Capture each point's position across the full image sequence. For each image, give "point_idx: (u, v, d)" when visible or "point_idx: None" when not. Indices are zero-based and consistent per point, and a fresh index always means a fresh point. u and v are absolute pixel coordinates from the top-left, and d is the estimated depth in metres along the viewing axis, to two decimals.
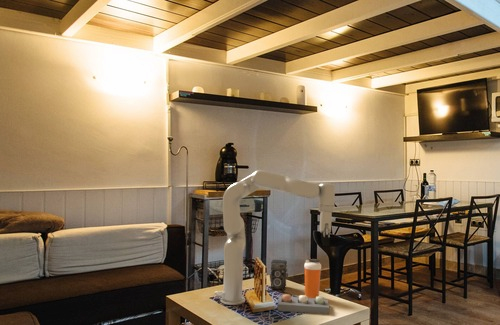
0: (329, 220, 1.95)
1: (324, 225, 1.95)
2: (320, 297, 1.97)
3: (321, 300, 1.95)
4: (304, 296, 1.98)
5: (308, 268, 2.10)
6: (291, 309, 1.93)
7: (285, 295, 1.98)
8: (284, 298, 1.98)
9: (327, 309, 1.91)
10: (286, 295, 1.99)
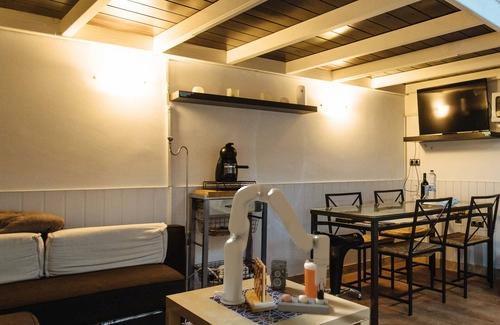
0: (324, 274, 1.92)
1: (319, 279, 1.92)
2: None
3: (321, 302, 1.95)
4: (304, 296, 1.98)
5: (308, 268, 2.10)
6: (291, 309, 1.93)
7: (285, 295, 1.98)
8: (284, 298, 1.98)
9: (327, 309, 1.91)
10: (286, 295, 1.99)
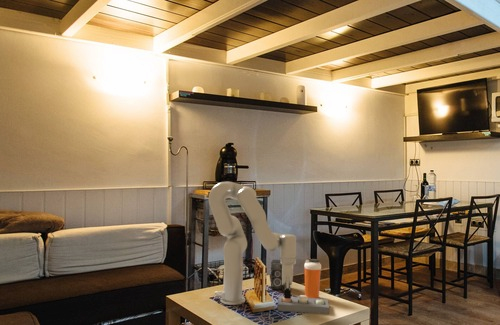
0: (290, 273, 1.94)
1: (285, 278, 1.94)
2: (320, 300, 1.97)
3: (321, 303, 1.95)
4: (304, 296, 1.98)
5: (308, 268, 2.10)
6: (291, 309, 1.93)
7: (284, 298, 1.98)
8: (284, 300, 1.98)
9: (327, 309, 1.91)
10: None
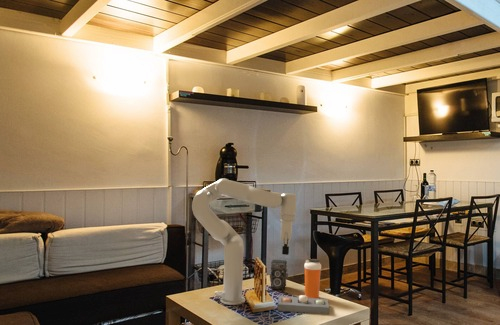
0: (289, 229, 2.01)
1: (284, 234, 2.01)
2: (320, 300, 1.97)
3: (321, 303, 1.95)
4: (304, 296, 1.98)
5: (308, 268, 2.10)
6: (291, 309, 1.93)
7: (284, 299, 1.99)
8: (284, 301, 1.98)
9: (327, 309, 1.91)
10: (286, 298, 1.99)
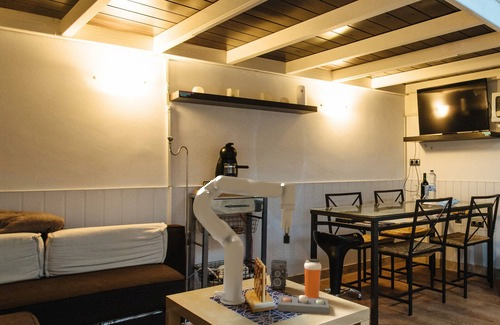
0: (289, 218, 2.03)
1: (284, 223, 2.03)
2: (320, 300, 1.97)
3: (321, 303, 1.95)
4: (304, 296, 1.98)
5: (308, 268, 2.10)
6: (291, 309, 1.93)
7: (284, 299, 1.99)
8: (284, 301, 1.98)
9: (327, 309, 1.91)
10: (286, 298, 1.99)
